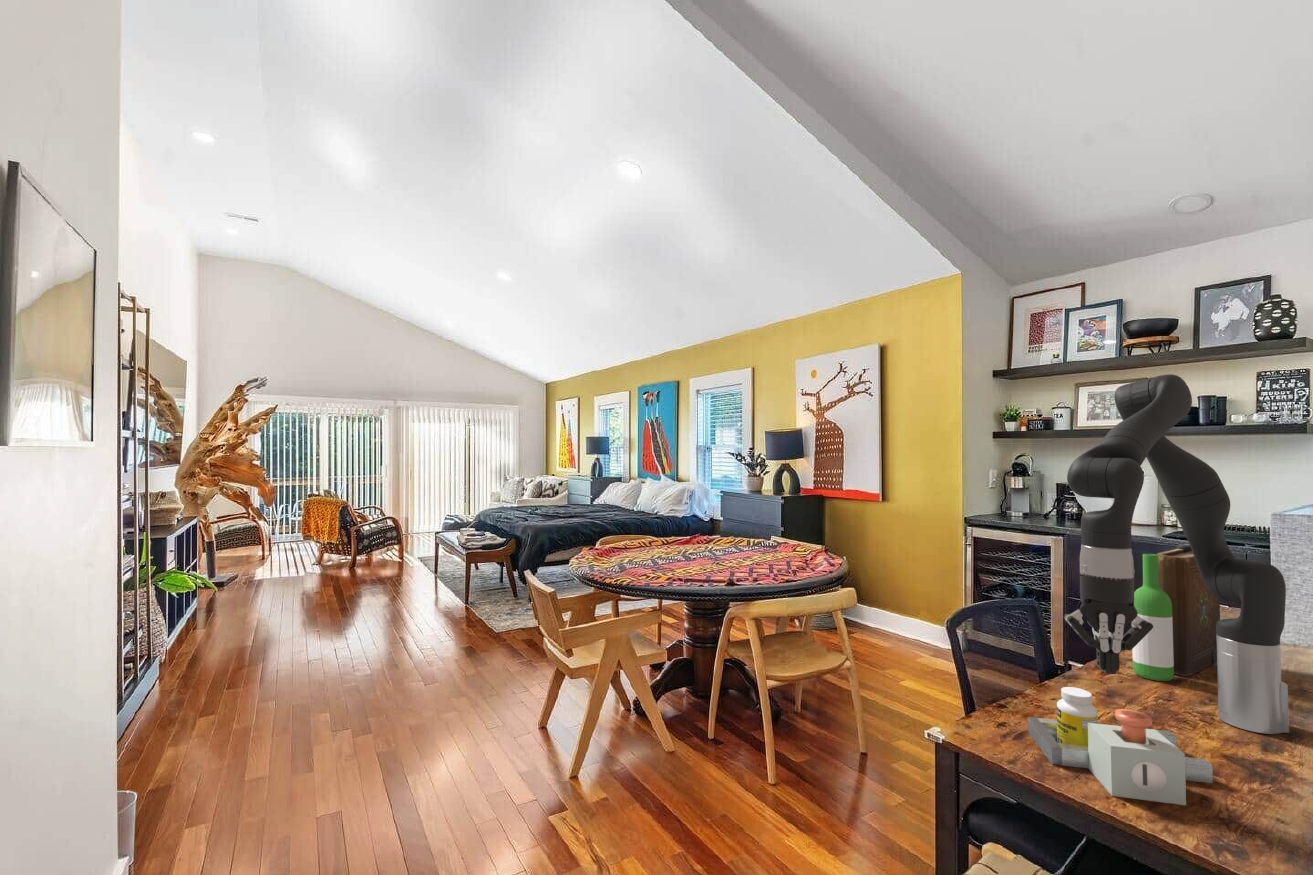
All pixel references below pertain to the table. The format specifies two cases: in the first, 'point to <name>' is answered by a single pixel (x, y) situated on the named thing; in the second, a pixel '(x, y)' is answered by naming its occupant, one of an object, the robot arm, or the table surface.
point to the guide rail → (1078, 755)
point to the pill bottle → (1075, 716)
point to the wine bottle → (1154, 626)
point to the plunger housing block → (1137, 765)
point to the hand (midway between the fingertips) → (1107, 672)
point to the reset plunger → (1133, 725)
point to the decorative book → (1189, 611)
